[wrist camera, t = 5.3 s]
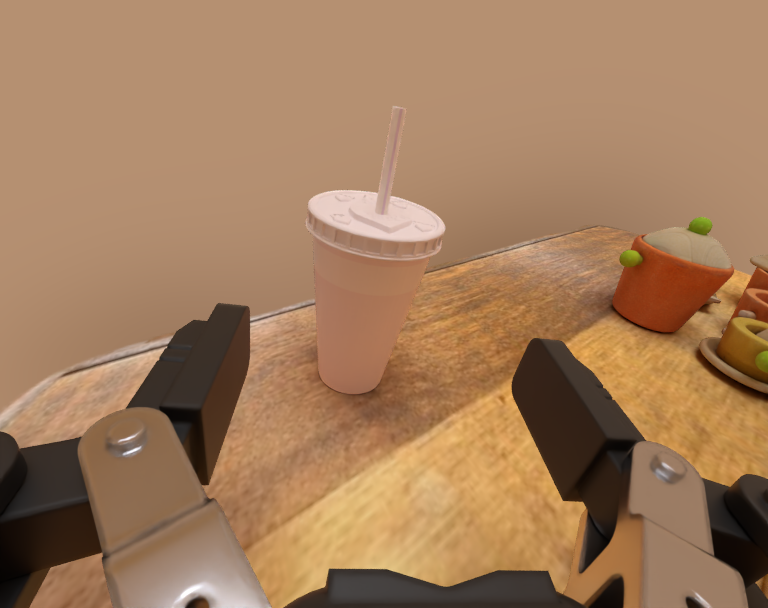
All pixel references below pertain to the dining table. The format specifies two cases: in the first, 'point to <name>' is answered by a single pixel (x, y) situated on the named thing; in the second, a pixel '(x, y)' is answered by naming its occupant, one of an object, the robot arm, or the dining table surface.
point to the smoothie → (367, 272)
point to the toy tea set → (697, 296)
